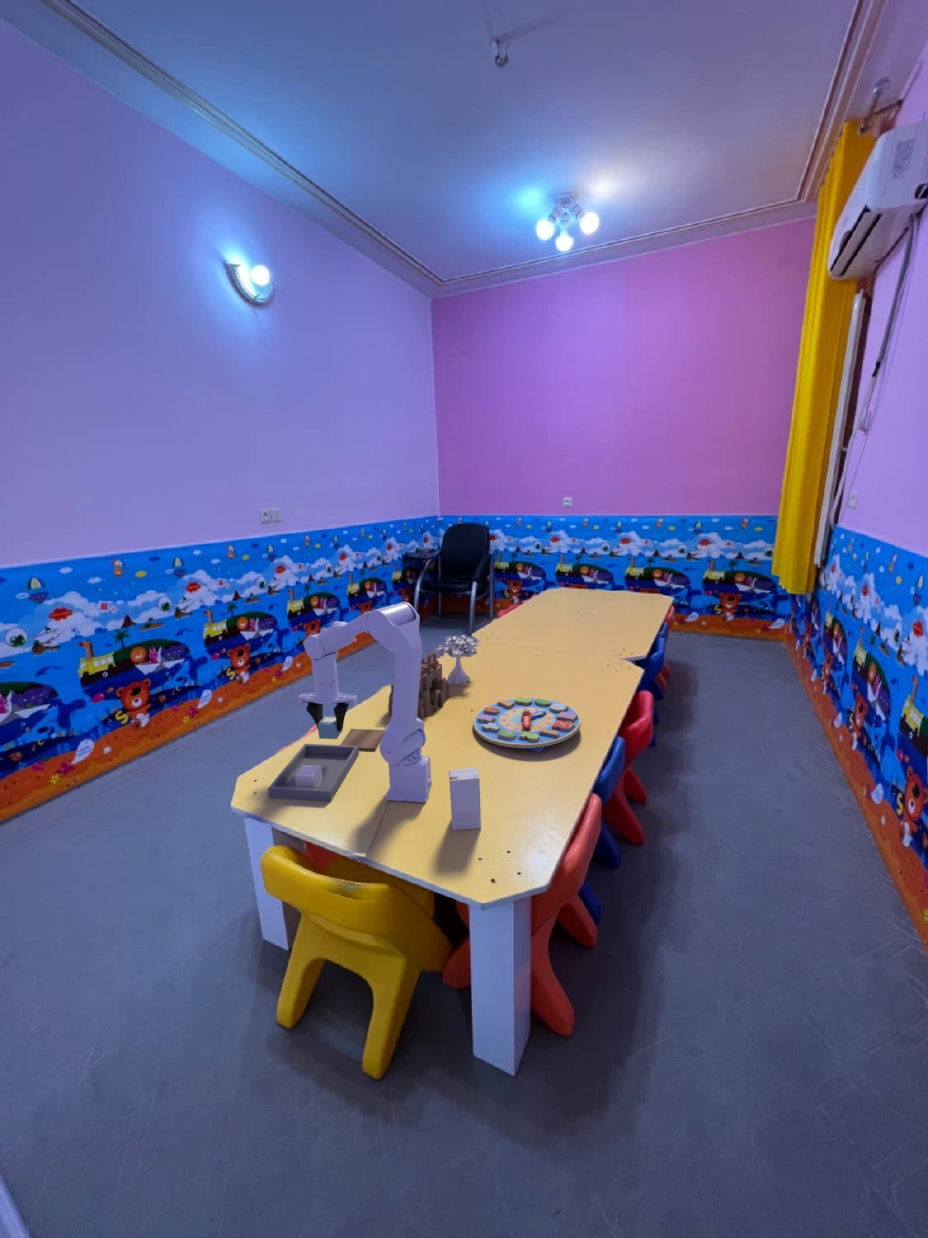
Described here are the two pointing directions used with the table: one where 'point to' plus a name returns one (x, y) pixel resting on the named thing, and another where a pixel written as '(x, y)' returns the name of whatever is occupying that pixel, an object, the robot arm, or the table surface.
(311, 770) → the plain block
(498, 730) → the shape sorting clock
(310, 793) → the bin
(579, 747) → the table surface
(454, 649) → the tree
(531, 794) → the table surface
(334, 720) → the labelled block
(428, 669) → the brown wooden block structure
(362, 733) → the pad
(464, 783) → the skincare box
